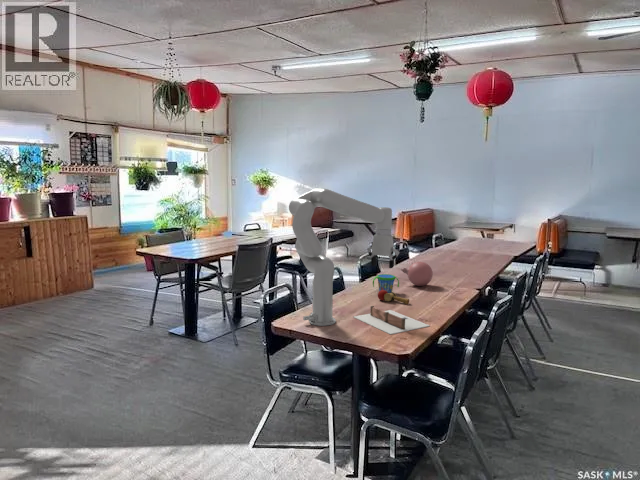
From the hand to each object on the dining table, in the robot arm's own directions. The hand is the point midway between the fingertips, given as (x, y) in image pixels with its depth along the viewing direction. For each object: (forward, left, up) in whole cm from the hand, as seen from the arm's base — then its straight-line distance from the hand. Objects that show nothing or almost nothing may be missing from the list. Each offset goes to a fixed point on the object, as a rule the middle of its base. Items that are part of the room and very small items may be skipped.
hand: (382, 266), depth 235 cm
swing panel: (-7, -6, -23) cm, 25 cm away
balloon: (+56, +38, -24) cm, 72 cm away
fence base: (-7, -19, -24) cm, 31 cm away
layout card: (-4, -12, -24) cm, 27 cm away
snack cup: (+28, +33, -24) cm, 50 cm away
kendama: (+20, +15, -25) cm, 35 cm away
